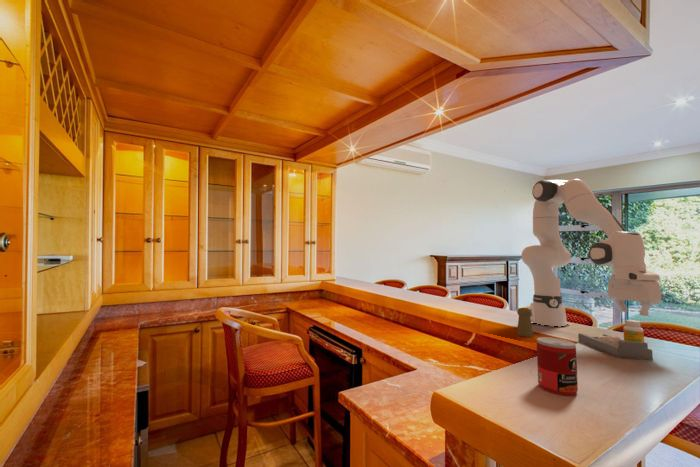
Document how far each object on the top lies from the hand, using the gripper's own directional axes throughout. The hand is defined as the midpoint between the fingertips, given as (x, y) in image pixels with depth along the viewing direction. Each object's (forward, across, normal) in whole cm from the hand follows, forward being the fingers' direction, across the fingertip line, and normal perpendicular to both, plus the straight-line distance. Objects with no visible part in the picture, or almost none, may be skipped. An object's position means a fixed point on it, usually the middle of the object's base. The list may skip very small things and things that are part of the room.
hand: (633, 313), depth 111 cm
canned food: (+13, +44, -48) cm, 66 cm away
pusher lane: (+12, +3, -10) cm, 16 cm away
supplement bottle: (+12, -1, 0) cm, 13 cm away
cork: (+12, -14, -32) cm, 37 cm away
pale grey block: (+12, +3, -10) cm, 16 cm away
